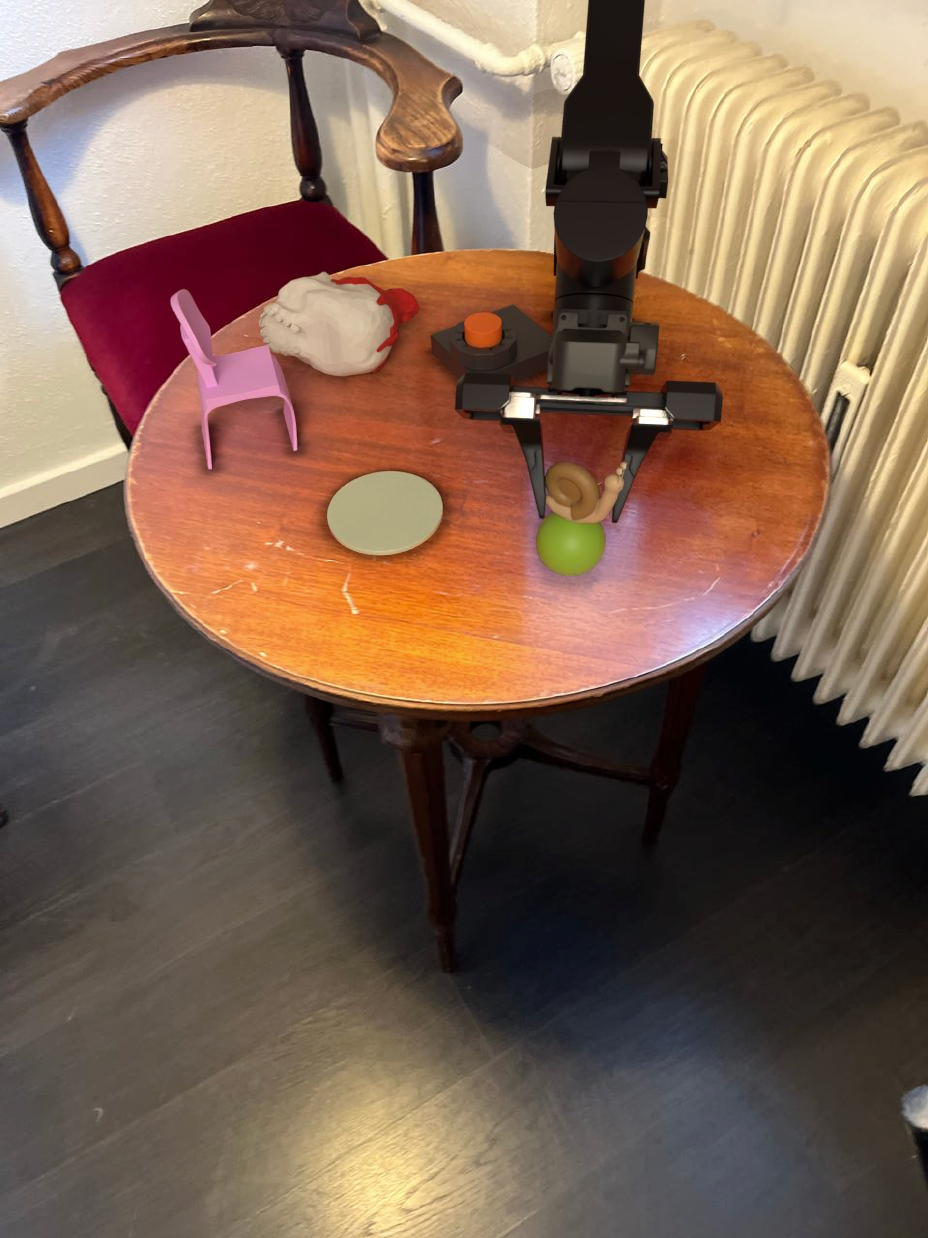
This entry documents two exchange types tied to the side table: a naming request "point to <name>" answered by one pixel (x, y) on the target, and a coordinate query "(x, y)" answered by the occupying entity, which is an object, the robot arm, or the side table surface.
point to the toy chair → (229, 370)
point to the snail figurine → (575, 518)
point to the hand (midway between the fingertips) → (577, 520)
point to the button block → (496, 348)
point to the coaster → (385, 513)
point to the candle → (336, 323)
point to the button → (483, 330)
